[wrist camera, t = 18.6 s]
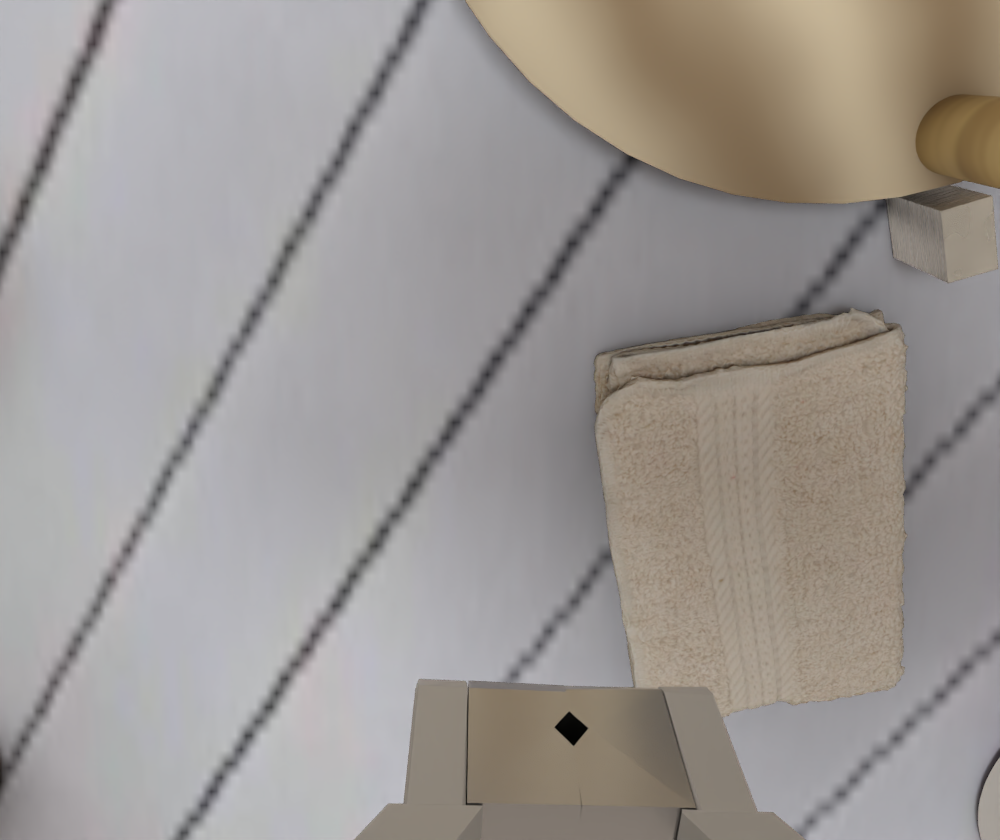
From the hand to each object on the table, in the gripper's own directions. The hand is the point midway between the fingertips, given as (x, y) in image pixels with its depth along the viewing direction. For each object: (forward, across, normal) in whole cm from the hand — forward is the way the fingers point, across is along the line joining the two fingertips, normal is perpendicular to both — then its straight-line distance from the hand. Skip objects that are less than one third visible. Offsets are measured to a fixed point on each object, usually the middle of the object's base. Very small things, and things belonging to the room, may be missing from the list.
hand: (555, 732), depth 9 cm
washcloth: (+25, -11, +11) cm, 29 cm away
